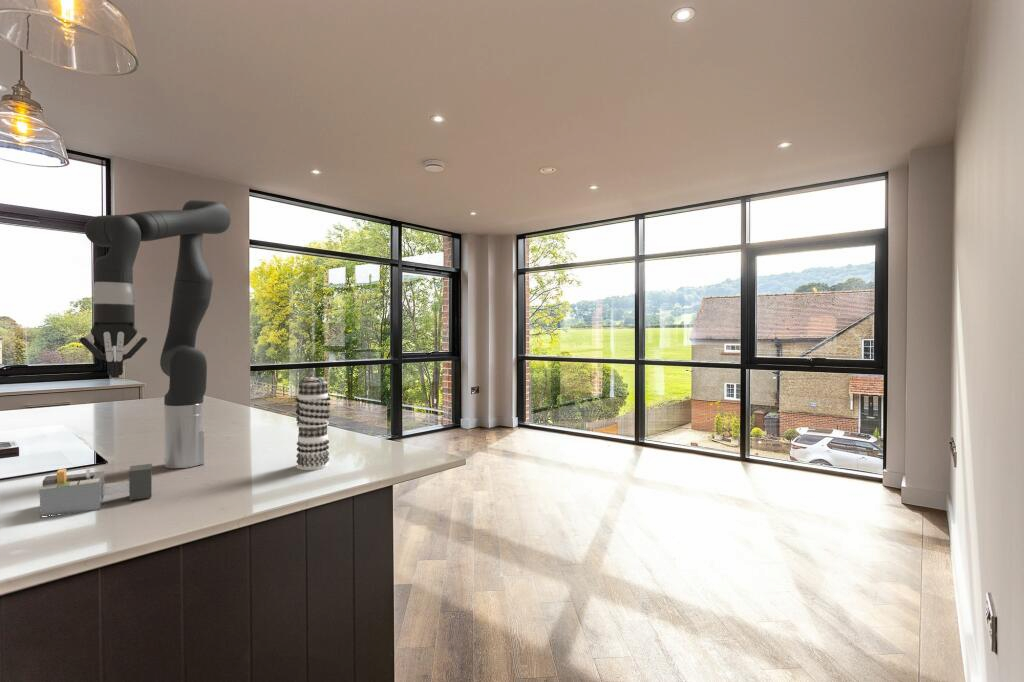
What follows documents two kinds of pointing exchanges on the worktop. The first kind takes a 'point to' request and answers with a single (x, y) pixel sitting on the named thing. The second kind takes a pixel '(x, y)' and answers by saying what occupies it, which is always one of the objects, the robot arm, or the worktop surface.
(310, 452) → the decorative candle
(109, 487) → the dark cube on shaft
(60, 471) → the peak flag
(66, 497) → the gauge housing
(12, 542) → the worktop surface
